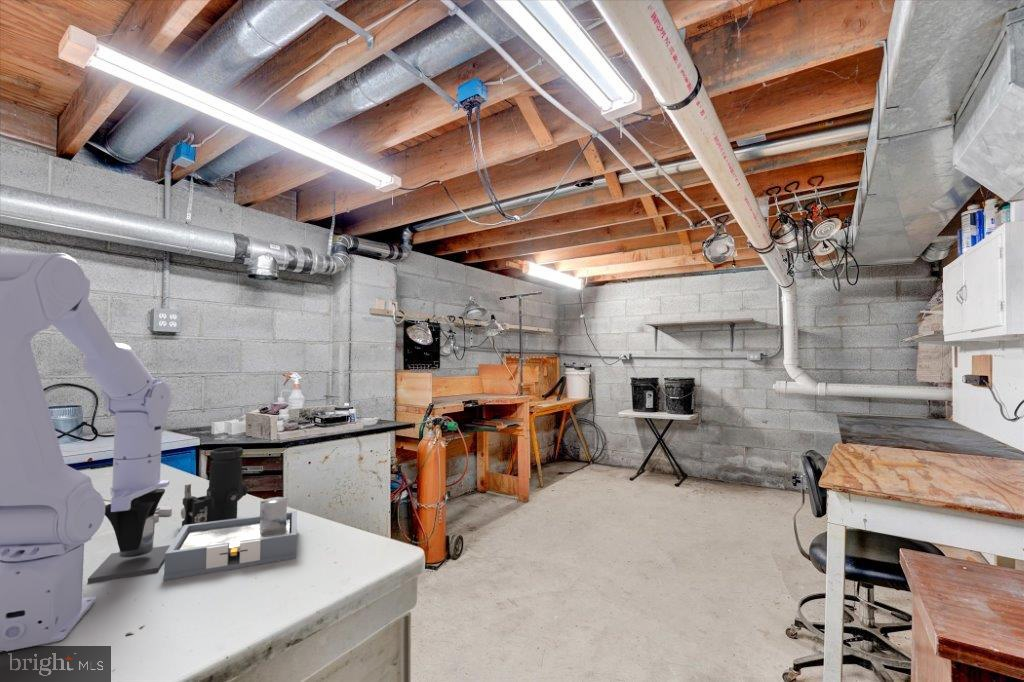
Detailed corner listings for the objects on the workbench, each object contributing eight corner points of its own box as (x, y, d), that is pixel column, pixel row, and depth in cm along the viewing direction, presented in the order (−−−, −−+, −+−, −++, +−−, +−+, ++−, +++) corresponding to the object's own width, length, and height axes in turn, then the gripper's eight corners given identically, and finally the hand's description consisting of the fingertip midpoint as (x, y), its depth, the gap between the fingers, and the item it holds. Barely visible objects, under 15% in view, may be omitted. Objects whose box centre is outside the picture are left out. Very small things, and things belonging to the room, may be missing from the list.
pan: (288, 547, 71) (288, 542, 71) (172, 565, 65) (173, 560, 65) (289, 523, 82) (290, 518, 82) (190, 536, 75) (190, 531, 75)
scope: (181, 452, 86) (238, 444, 94) (179, 526, 85) (236, 511, 93) (199, 457, 81) (257, 448, 89) (196, 536, 80) (255, 520, 89)
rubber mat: (157, 571, 67) (158, 567, 67) (87, 582, 64) (87, 578, 64) (172, 548, 75) (173, 544, 75) (111, 557, 72) (111, 553, 72)
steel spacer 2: (286, 532, 75) (286, 502, 76) (258, 536, 74) (259, 505, 74) (286, 524, 79) (287, 495, 79) (260, 528, 77) (261, 498, 77)
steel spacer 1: (147, 555, 69) (150, 522, 69) (114, 558, 67) (117, 524, 67) (156, 545, 72) (158, 513, 73) (125, 548, 71) (127, 516, 71)
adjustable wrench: (81, 507, 97) (81, 499, 97) (118, 499, 103) (118, 491, 103) (141, 527, 85) (142, 517, 86) (179, 516, 91) (179, 507, 91)
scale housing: (296, 558, 72) (296, 535, 72) (163, 580, 65) (164, 554, 65) (296, 529, 84) (296, 510, 84) (183, 545, 76) (184, 524, 76)
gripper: (156, 463, 65) (153, 558, 65) (180, 445, 78) (177, 524, 78) (93, 468, 62) (89, 568, 62) (128, 448, 75) (125, 531, 75)
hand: (134, 544), depth 70 cm, fingers closed on steel spacer 1, 4 cm apart
